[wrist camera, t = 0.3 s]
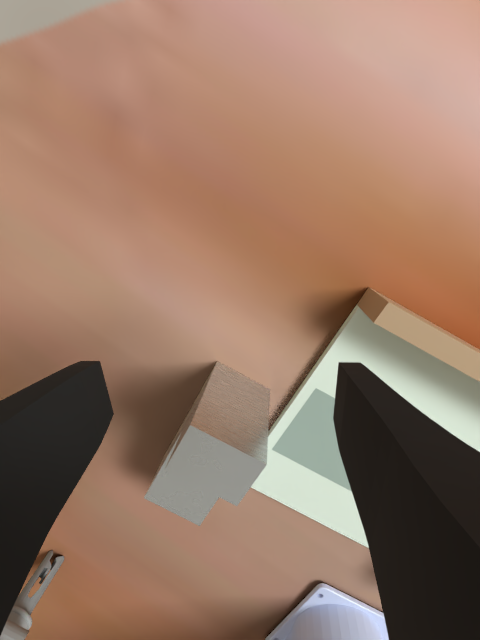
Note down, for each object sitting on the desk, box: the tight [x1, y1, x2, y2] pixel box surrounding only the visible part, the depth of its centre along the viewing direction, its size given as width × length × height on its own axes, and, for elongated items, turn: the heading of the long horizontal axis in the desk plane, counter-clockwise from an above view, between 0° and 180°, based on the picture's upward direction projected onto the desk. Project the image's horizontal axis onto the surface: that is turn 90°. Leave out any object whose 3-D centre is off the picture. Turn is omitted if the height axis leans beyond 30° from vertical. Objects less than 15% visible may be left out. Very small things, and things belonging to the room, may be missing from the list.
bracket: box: [144, 361, 270, 526], centre depth 19 cm, size 9×4×7 cm, turn 152°
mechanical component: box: [0, 550, 64, 640], centre depth 24 cm, size 3×10×10 cm, turn 148°
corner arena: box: [251, 288, 480, 548], centre depth 20 cm, size 17×16×4 cm
